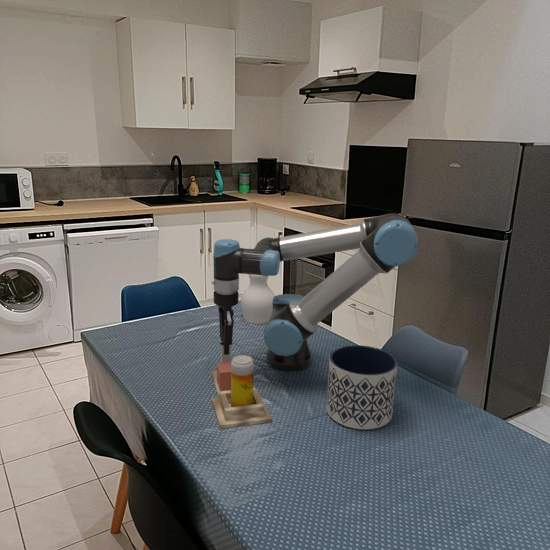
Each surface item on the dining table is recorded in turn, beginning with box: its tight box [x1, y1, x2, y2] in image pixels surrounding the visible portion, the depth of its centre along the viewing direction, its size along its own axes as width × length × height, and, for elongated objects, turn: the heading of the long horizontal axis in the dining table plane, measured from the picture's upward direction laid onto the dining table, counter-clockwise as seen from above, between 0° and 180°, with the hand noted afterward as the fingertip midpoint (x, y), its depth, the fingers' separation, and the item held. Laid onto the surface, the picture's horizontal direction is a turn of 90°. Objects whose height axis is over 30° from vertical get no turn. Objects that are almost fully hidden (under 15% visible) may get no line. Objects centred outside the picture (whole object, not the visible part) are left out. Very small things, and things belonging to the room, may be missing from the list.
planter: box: [326, 344, 398, 430], centre depth 143 cm, size 18×18×16 cm
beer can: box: [230, 354, 255, 407], centre depth 141 cm, size 6×6×15 cm
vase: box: [240, 274, 276, 325], centre depth 208 cm, size 14×14×20 cm
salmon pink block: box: [216, 361, 232, 391], centre depth 156 cm, size 8×6×6 cm
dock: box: [210, 369, 273, 430], centre depth 152 cm, size 14×31×4 cm, turn 15°
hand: (225, 361), depth 163 cm, fingers closed
